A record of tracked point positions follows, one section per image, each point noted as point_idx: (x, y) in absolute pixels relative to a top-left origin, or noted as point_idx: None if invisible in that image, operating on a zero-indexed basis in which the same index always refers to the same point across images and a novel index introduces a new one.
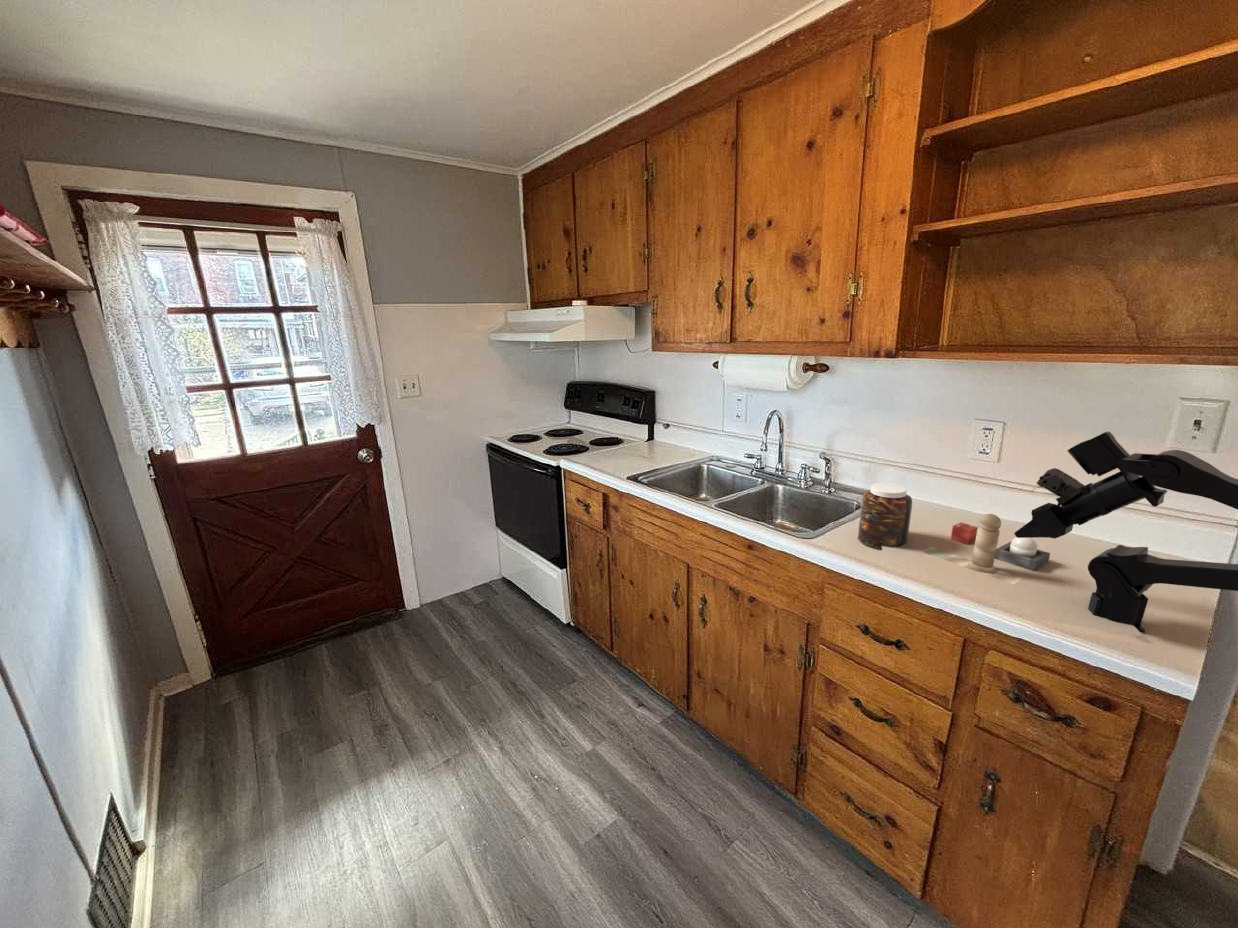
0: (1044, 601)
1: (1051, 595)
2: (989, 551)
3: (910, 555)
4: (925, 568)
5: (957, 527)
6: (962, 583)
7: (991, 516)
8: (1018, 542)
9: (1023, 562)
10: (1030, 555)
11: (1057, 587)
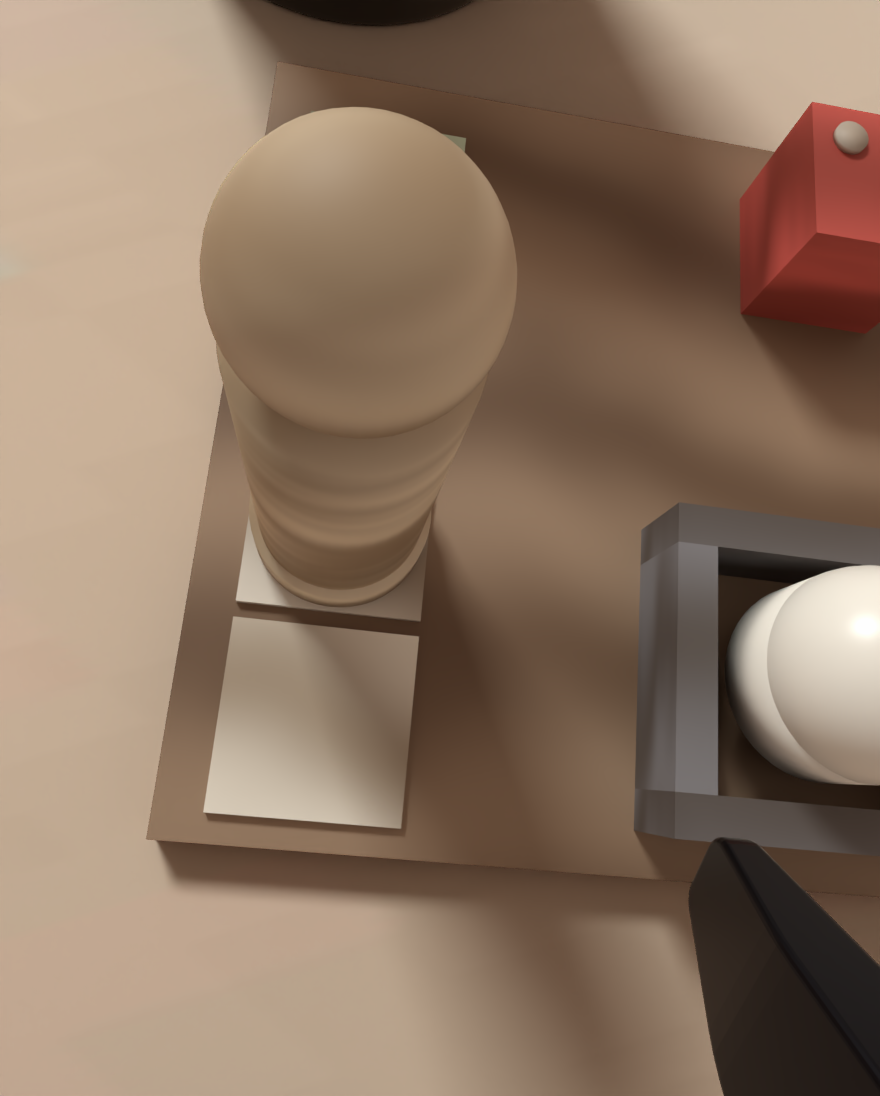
0: (161, 1068)
1: (338, 1066)
2: (265, 512)
3: (258, 92)
4: (93, 232)
5: (809, 140)
6: (15, 503)
7: (290, 207)
8: (814, 634)
9: (655, 744)
10: (785, 761)
11: (548, 1045)
